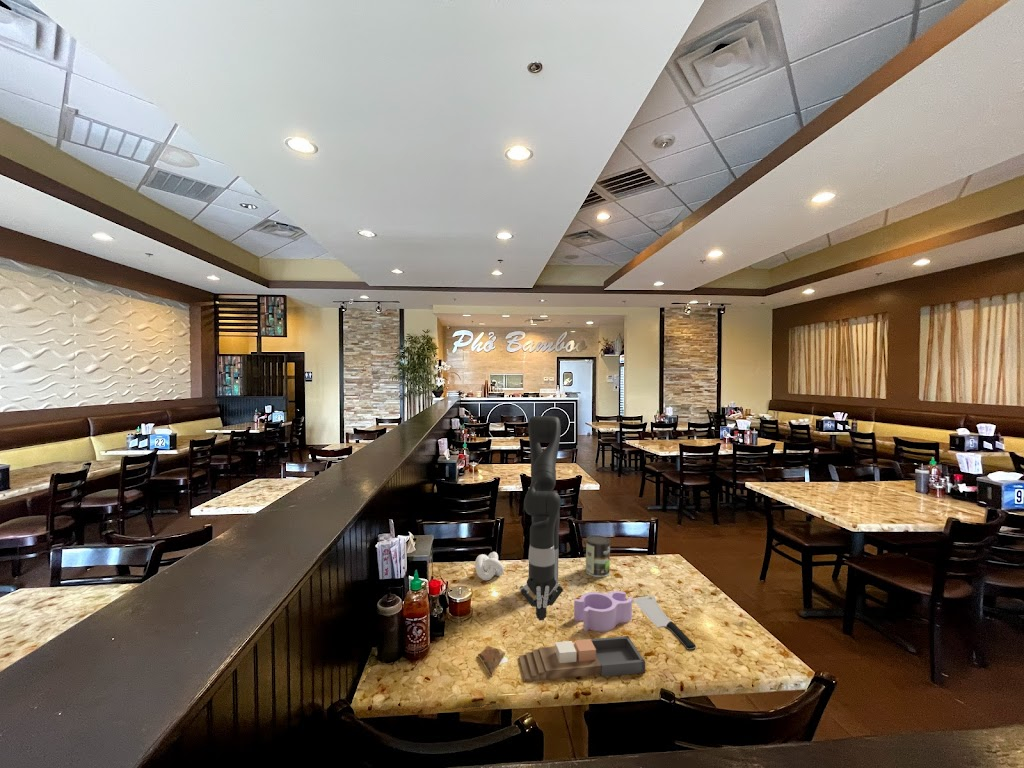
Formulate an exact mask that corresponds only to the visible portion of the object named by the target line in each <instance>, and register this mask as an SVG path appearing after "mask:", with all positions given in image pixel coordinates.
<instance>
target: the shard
mask: <svg viewBox="0 0 1024 768" xmlns="http://www.w3.org/2000/svg"><path fill="white" fill-rule="evenodd" d="M505 656H506V652H505V651H504V650H502V649H499V648H496V647H493V646H490V645H486V646H485V647H484V649H483V650H482V651H481V652H480V653H477V657H478V659H479V660H480V661H481V662H482V664H483V666H484V669H485V670H486V673H487V675H488V674H489V676H490V677H492V678H493V675H494V674H495V672H496V669H497V668H498V667H499V665H500V663H501V662H502V660H503V659H504V657H505Z"/></svg>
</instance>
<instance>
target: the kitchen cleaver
mask: <svg viewBox="0 0 1024 768" xmlns="http://www.w3.org/2000/svg"><path fill="white" fill-rule="evenodd" d="M632 602H634V603H635V604H636V605H637V606H638V608H639V609H640V610H641V611H642V612H643V613H644V615H645V616H646V617H647V618H648V619H649V620H650V621H651V623H652V624H653V625H654V626H655V627H656V628H666V629H668V630H670V632H672V633H673V634H674V635H675V636H676V638H677V639H678V640H679V641H680V642H681V643H682V644H683V645H684V647H685V649H686V650H688V651H693V650H695V649H696V647H697V646H696V643H694V642H693V641H692V640H691V639H690V638H689V637H688V636H687V635H686V634H685V633H684V632H683V631H682V630H681V628H680V627H678V626H677V625H676V624H675V623H674V621H672V620H671V619H670V618H669V617H668V616H667V615H666V613H665V612H664V611H663V610H662V608H661V607H660V606H659V604H658V602H657V600H656V597H655V596H654V595H646V596H641V597H640V596H639V597H635V598H632Z"/></svg>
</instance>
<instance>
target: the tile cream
mask: <svg viewBox="0 0 1024 768" xmlns="http://www.w3.org/2000/svg"><path fill="white" fill-rule="evenodd" d="M554 645H555V646H554V647H555V653H556V655H557V658H558V661H559V663H569V662H576V649H575V647H574V643H573V641H572V640H565V641H555V644H554Z"/></svg>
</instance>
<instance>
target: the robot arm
mask: <svg viewBox="0 0 1024 768" xmlns="http://www.w3.org/2000/svg"><path fill="white" fill-rule="evenodd" d="M527 427H528V429H527V430H528V439H529V440H528V441H529V450H530V481H531V482H530V485H529V487H528V490H527V492H526V494H525V497H524V499H523V500H524V501H523V509H524V511H525V513H526V514H527V515H529V516H531V525H530V528H529V548H528V557H527V558H528V577H527V580H526V584H525V585H524V586H523V585H521V586H519V591H520V594H521V595H522V596H523V598H524V599H525V601H527V603H529V605H530V606H531V607H532V608H533V607H534V608H535V616H536V618H537V620H538V621H545V619H546V618H547V607H549V606H553V604H554V603H555V602H557V599H558V598H559V596H561V594H562V593H563V592H564V589H563V587H562V585H561V583H559V551H560V550H559V546H560V545H559V544H560V543H559V537H560V536H559V534H560V533H559V530H560V519H561V517H560V516H561V515H560V510H561V505H562V499H561V496H560V495H559V493H558V492H556V491H553V490H554V488H555V487H556V484H557V470H556V467H557V465H556V463H557V459H558V453H559V447H560V442H561V441H560V440H561V433H562V432H561V430H562V428H561V420H560V418H559V417H558V416H555V415H554V416H552V415H548V416H546V415H535V416H534V415H533V416H531V417H530V418H529V420H528V426H527ZM543 443H544V444H545V443H546V444H547V443H548V444H547V446H546V447H545V448H544V450H543V448H542V446H541V444H543ZM530 591H531V593H532V594H533V595H534V598H535V599H534V598H533V597H532V596H531V594H530Z"/></svg>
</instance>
